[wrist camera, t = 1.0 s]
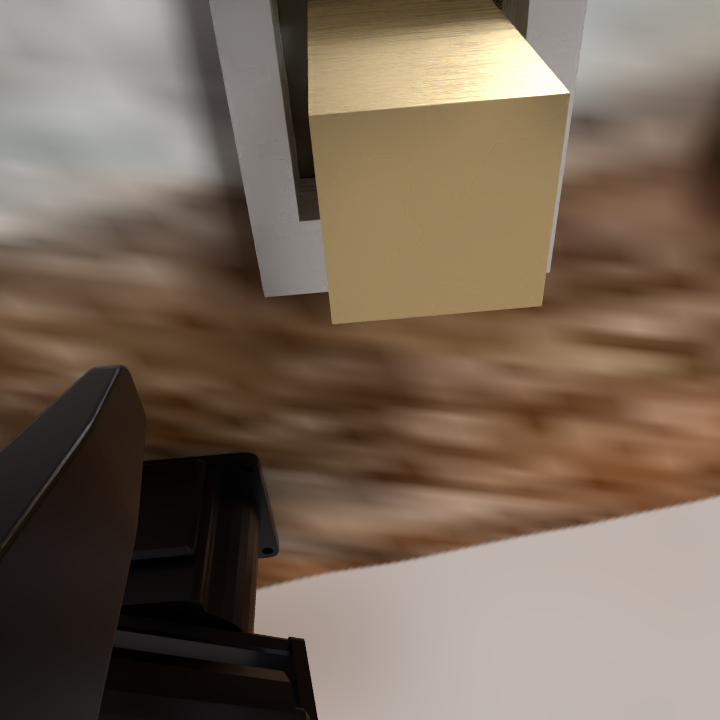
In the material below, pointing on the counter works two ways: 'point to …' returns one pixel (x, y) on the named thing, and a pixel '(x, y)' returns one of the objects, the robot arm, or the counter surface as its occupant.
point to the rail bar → (276, 133)
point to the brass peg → (431, 157)
